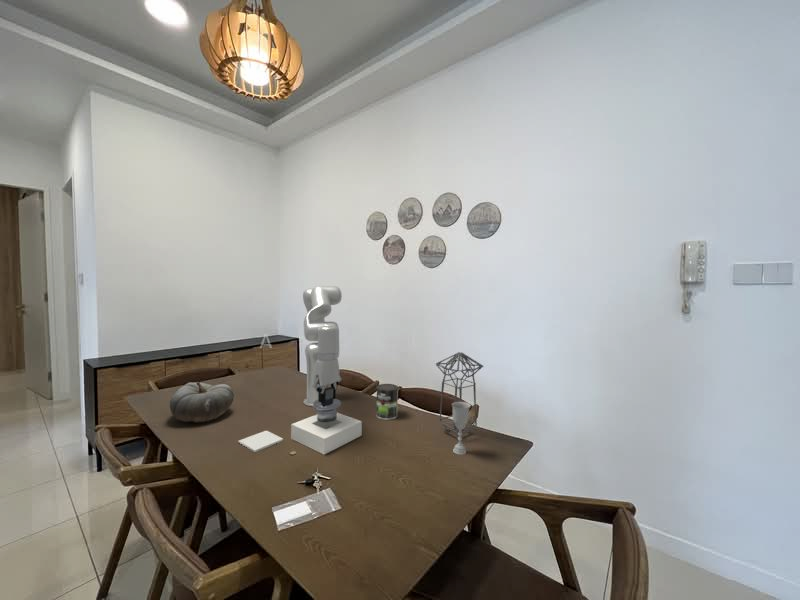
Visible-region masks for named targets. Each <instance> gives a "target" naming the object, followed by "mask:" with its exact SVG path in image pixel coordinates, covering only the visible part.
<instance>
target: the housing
mask: <svg viewBox="0 0 800 600" xmlns="http://www.w3.org/2000/svg"><path fill="white" fill-rule="evenodd" d="M362 424H363V421H362V420H359V419H356V418H354V417H351V416H348V415H345V414H342V413H340V412H337V419H336V420H334V421H332V422H319V421H318V420H317V414H314V415H312V416H309V417H307V418H303V419H301V420H299V421H297V422H293V423H291V424H290V428H291V429H290V439H291V440H293V441H294V442H297V443H299V444H301V445H303V446H305V447H306V448H310V449H312V450H314V451H316V452H318V453H320V454H322V455H326V454H328V453H331V452H333V451H334V450H336V449H339V448H340V447H342V446H344V445H346V444H348V443H350V442H351V441H354V440H357V438H359V437H361V436H362V433H363V432H362V430H363V429H362V427H363V425H362Z"/></svg>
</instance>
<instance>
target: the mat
mask: <svg viewBox="0 0 800 600" xmlns="http://www.w3.org/2000/svg"><path fill="white" fill-rule="evenodd" d="M283 441H284V438H283V437H280V436H279V435H276V434H275V433H272V432H270V431H268V430H264V431H261V432H259V433H255V434H252V435H250V436H247V437H244V438H242V439H240V440H237V443H238V442H239V443H240V445H241V444H242V445H241V446H243V447H244V446H245V447H244V448H246V447H247V449H248V450H249V451H251V452H253V453H257V452H260V451H262V450H264V449H267V448H269V447H271V446H274V445H276V443H277V444H279V443H281V442H283ZM239 443H238V444H239Z"/></svg>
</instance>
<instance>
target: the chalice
mask: <svg viewBox="0 0 800 600" xmlns="http://www.w3.org/2000/svg"><path fill="white" fill-rule="evenodd" d="M451 407H452V415H453V416H452V420H453V423H455V425H456V427H455V429H459V430H458V437H459V438H457V440H458V442H457V444H455V445H454V446H453V447H454V448H453V450H452V451H453V453H454V454H456V455H465V454H466V453H467V450H466V447H465V445H464V444H463V443H462V441H463V437H462V435H463V432H462V431H463V430H462V429H464V428H466V427H465V426H467V424H468V422H469V420H468V419H470V408H471V404H470V403H468V402H466V401H465V402H464V401H462V402H460V401H456V402H455V401H454V402H452V403H451ZM461 437H462V438H461Z"/></svg>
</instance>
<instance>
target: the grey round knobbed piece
mask: <svg viewBox="0 0 800 600" xmlns="http://www.w3.org/2000/svg"><path fill="white" fill-rule="evenodd" d="M324 393H325V403H321V402H319V401H318V400H316V401H315V402H314V403H313V406H312V407H313V408H314V409H315V410H316V415H317V420H318V421H319V422H332V421H334V420H336V419H337V413H338V408H340V407H341V400H339V399H338V398H336V399H333V387H330V385H326V386H325V389H324Z"/></svg>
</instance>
